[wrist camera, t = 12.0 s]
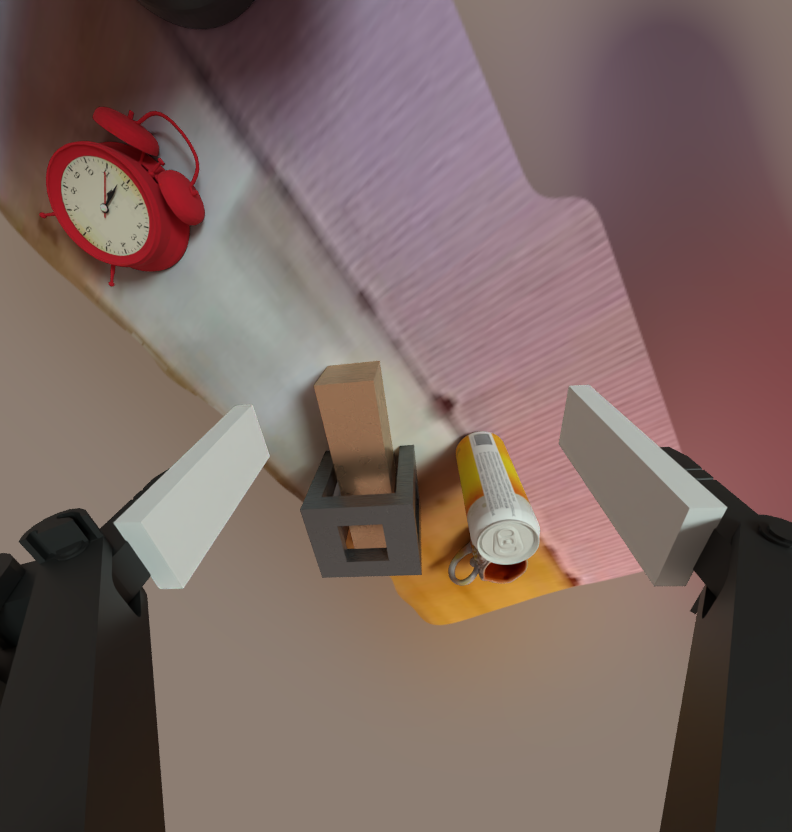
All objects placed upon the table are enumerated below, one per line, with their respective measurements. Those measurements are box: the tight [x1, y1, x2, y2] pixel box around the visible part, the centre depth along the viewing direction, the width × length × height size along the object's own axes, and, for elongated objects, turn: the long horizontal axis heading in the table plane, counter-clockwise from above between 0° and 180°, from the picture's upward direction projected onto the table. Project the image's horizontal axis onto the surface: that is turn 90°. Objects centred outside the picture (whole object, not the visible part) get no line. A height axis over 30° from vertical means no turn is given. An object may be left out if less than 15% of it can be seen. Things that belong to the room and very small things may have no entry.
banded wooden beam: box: [314, 361, 397, 549], centre depth 40 cm, size 24×6×6 cm, turn 7°
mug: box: [448, 540, 528, 586], centre depth 46 cm, size 12×7×7 cm, turn 128°
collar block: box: [300, 445, 422, 578], centre depth 40 cm, size 10×12×11 cm
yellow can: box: [456, 432, 540, 565], centre depth 35 cm, size 6×6×15 cm
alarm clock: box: [39, 107, 205, 286], centre depth 29 cm, size 10×6×15 cm
